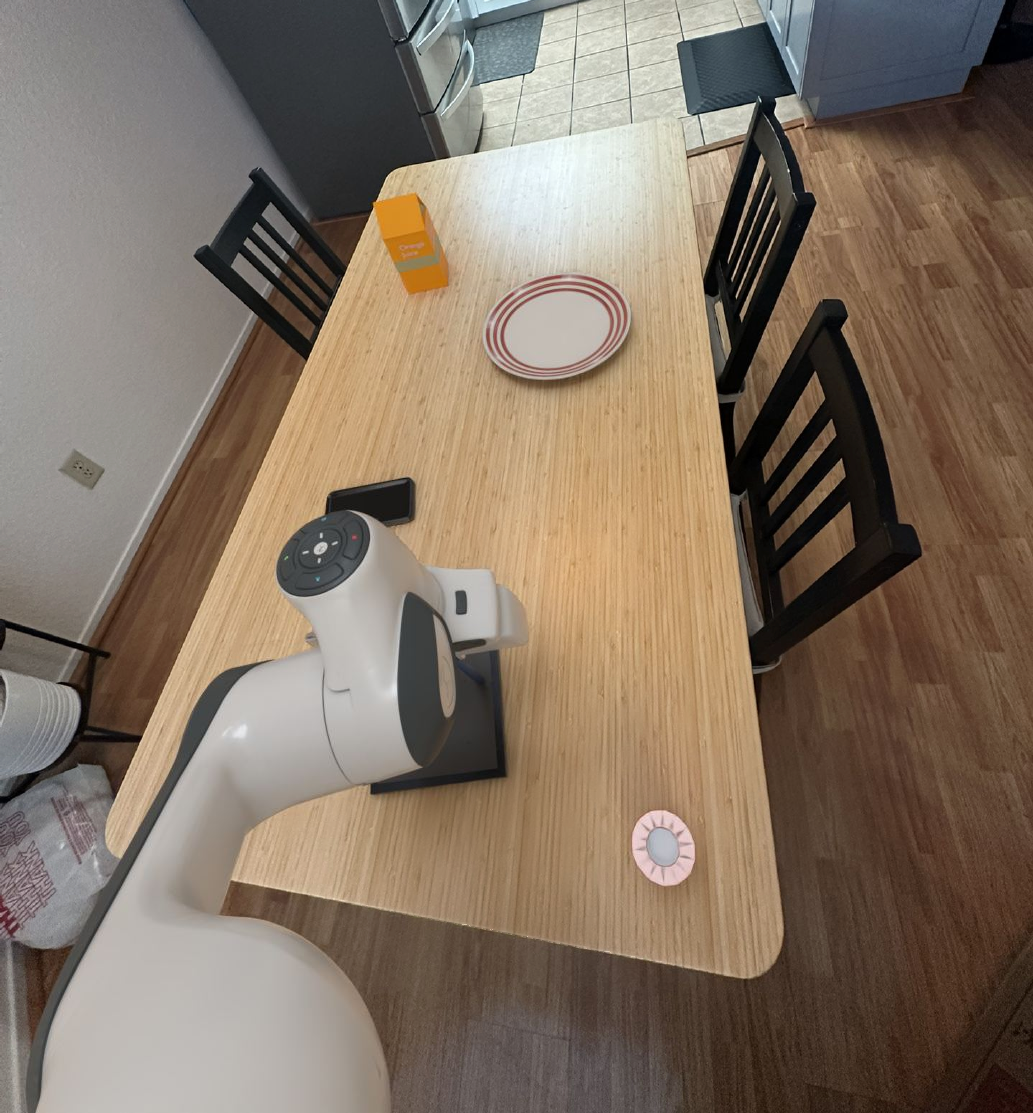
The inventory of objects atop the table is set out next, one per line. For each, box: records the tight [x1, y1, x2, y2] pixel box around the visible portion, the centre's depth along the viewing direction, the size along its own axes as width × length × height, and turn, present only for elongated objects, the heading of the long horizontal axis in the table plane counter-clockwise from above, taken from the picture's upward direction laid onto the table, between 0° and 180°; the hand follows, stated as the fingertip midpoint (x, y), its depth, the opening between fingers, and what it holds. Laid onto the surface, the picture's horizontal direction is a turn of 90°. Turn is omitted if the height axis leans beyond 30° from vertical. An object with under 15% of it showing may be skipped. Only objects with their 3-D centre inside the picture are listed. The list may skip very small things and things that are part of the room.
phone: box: [324, 476, 416, 527], centre depth 94 cm, size 8×1×15 cm
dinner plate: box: [481, 271, 632, 381], centre depth 107 cm, size 28×27×3 cm
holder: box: [630, 808, 697, 888], centre depth 57 cm, size 6×6×13 cm
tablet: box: [369, 649, 509, 796], centre depth 77 cm, size 24×17×1 cm
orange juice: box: [372, 192, 449, 295], centre depth 118 cm, size 8×9×20 cm
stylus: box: [457, 659, 483, 684], centre depth 68 cm, size 1×1×18 cm
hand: (448, 653), depth 64 cm, fingers closed on stylus, 1 cm apart
